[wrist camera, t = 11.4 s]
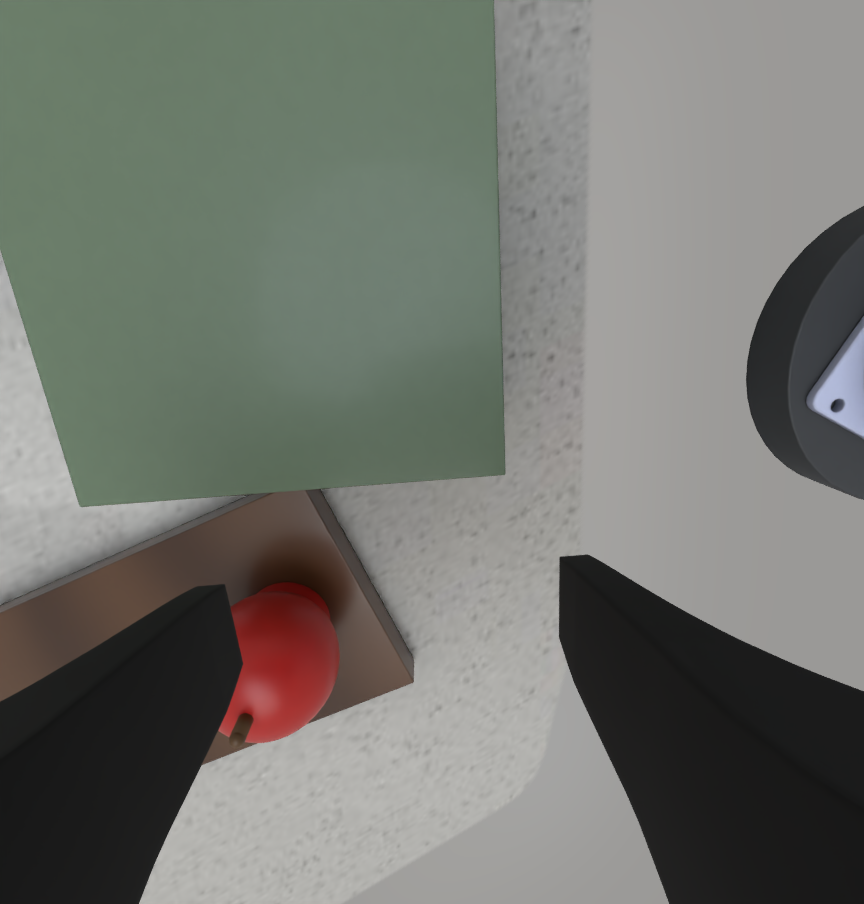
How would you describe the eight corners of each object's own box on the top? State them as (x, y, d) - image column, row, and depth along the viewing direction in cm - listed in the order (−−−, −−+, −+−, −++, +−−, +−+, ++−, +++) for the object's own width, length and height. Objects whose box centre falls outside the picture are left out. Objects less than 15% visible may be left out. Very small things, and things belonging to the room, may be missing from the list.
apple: (368, 592, 20) (346, 711, 14) (321, 681, 21) (283, 827, 15) (253, 546, 19) (176, 651, 13) (212, 642, 20) (125, 779, 14)
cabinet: (114, 52, 15) (-130, -166, 8) (456, 31, 15) (489, -201, 9) (200, 441, 19) (79, 507, 12) (474, 420, 19) (505, 475, 12)
